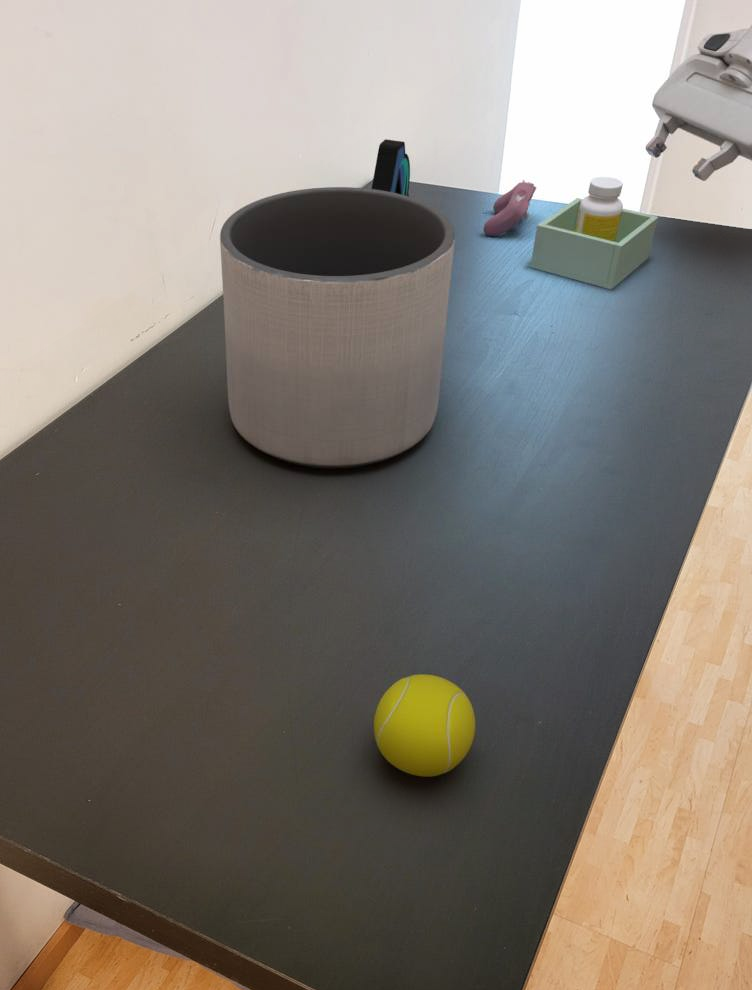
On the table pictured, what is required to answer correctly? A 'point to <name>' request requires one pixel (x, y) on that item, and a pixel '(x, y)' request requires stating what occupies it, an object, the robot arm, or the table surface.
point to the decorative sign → (392, 168)
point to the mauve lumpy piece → (510, 209)
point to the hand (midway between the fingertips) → (673, 164)
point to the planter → (335, 323)
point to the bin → (592, 247)
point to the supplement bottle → (601, 209)
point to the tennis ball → (424, 725)
